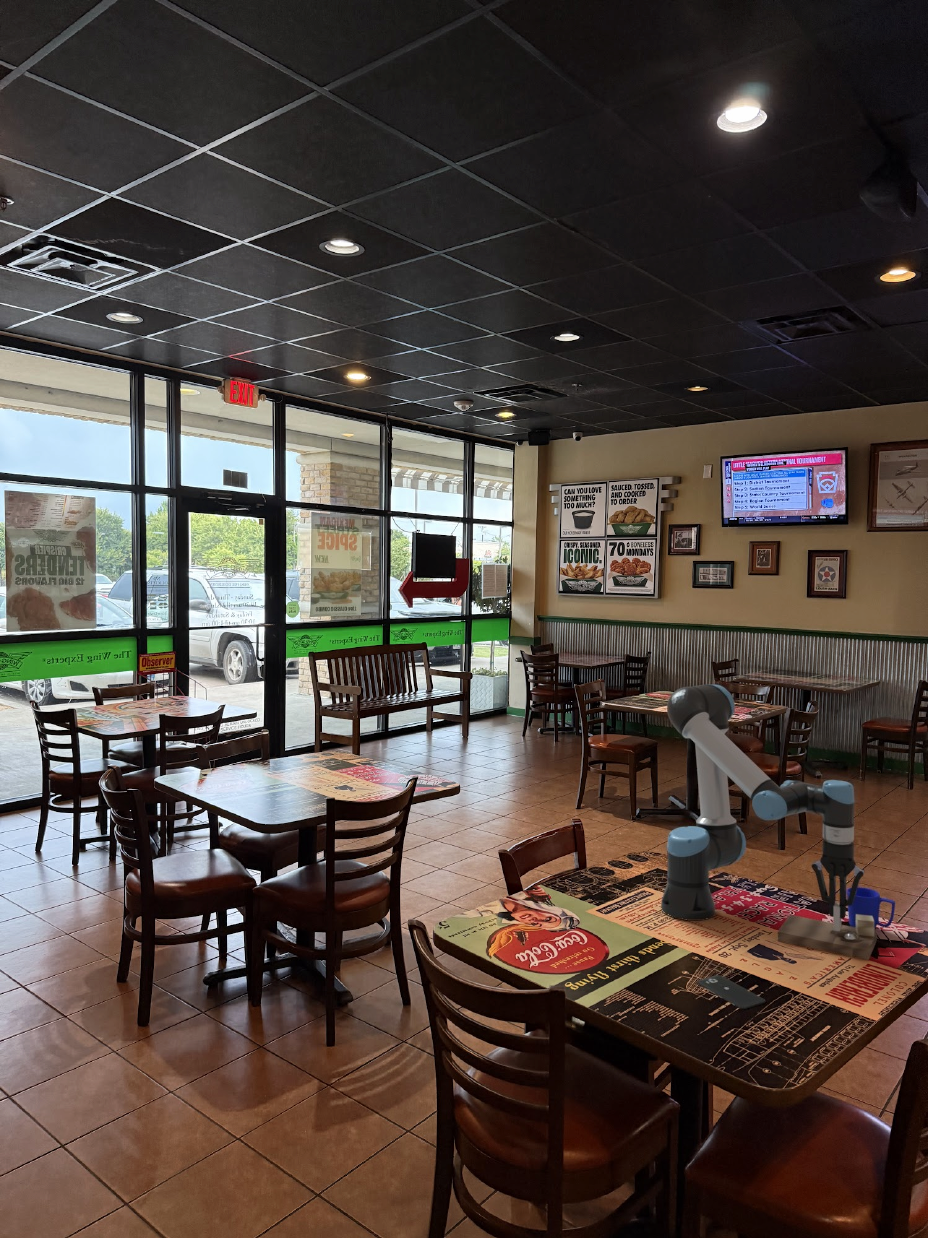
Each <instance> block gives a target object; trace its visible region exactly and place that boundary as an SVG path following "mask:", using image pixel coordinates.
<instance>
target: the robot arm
mask: <svg viewBox="0 0 928 1238" xmlns="http://www.w3.org/2000/svg"><path fill="white" fill-rule="evenodd" d="M666 704H667V706H666V712H667V716H668V718H669V721H670V723H671V724H672V725H673V727H674V728H675V730H676V731H677V732H678V733H679V734H680V735H681V736H682V737H683V738H684V739H690V740H691V741H693V743H694V745H695V757H696V758H695V759H696V768H697V769H696V771H697V784H698V796H699V806H700V807H699V808H700V816H699V817H698V818H697V819H695V822H696V823H695V824H696V826H695V825H694V826H693V825H690V826H689V825H688V826H680V827H677V828H674V829H673V830H671V831H670V832H669V834H668V836H667V843H666V850H667V851H666V852H667V860H666V861H667V863H666V866H667V868H666V869H667V873H666V874H667V883H666V886H665V889H664V892H663V895H662V898H661V903H660V906H661V907H660V908H662V909H661V911H662V910H663V911H664V912H665V913H666V914H665V913H664V912H663V911H662V912H663V913H664V914H665V915H667V914H669V915H671V916H673V917H672V918H675V917H676V918H675V919H678V918H683V919H682V920H684V919H687V920H686V921H704V920H707V919H706V918H708V919H710V917H711V918H712V917H714V916H715V915H716V904H715V901H714V898H713V895H712V891H711V888H710V885H709V884H710V879H709V878H710V871H712V870H716V869H718V868H722V867H728V866H731V865H733V864H734V863H736V862H738V861H739V860H741V858H743V856H744V855H745V851H746V847H747V841H746V840H747V839H746V837H745V833H744V832H743V831H742V829H741V828H740V827H739V826H738V825H737V819H736V818H734V817H733V816H732V815H731V807H730V805H731V804H730V794H729V791H730V790H729V783H728V782H729V781H728V779H731V781H732V782H734V784H735V785H737V786H738V788H739V789H740V790H741V791H742V792H743V793H744V794H746V796H747V797H749V799H751V800H752V803H751V804H752V809H753V811H754V813H755V815H756V816H757V818H759V819H761V820H764V821H774V820H775V821H776V820H781V819H782V818H786V817H789V816H793V815H794V816H795V815H796V814H797V815H798V814H801V813H804V812H805V813H811V814H815V815H821V816H822V838H823V840H822V853H821V854H822V856H821V858H820V860H818V861H814V862H812V864H811V868H812V870H813V872H814V874H815V876H816V880H817V881H816V882H817V885H818V890H819V894H820V897H821V900H822V901H823V902H826V903H828V905H829V907H828V912H829V913H828V915H829V917H832V921H833V922H832V923H833V930H834V931H840V930H841V925H842V920H843V919H845V917H846V914H847V913H846V912H847V910H846V909H847V907H848V906H851V905H852V904H853V902H854V898H855V895H856V891H857V888H858V887H859V884H860V881H861V879H862V878H863V876H864V875H865V873H866V871H865V870H864V869H862V868H860V867H859V866H857V863H856V861H855V859H854V856H855V851H854V850H855V845H854V843H853V841H854V840H855V825H854V823H855V822H854V817H855V802H856V801H855V787H854V785H853V784H852V783H851V782H848V781H846V780H845V781H844V780H838V779H837V780H836V779H829V780H827V779H826V780H825V781H824V782H823V784H822V785H818V784H817V785H816V784H812V783H807V782H804V781H801V780H790V779H787V780H785V781H783V783H782V784H781V785H780V786H779V785H778V784H776V782H775V781H773V779H771V778H770V777H769V776H768V775H767V774H766V773H765V772H764V771H763V770H762V769H761V768H760V767H759V766H758V765H757V764H756V763H755V762H754V761H753V760H752V759H750V757H749V756H748V755H746V753H744V752H743V751H742V750H741V749H740V748H739V747H738V746H737V745H736V744H735V743H734V742H733V741H732V740H731V739H730V738H729V737H728V736H727V735H726V732H728V731H729V727H730V726H729V721H730V719H731V718H732V716H733V715H734V713H735V709H736V705H735V701H734V697H733V696H732V694H731V692H730V691H728V689H726V688H725V687H724V686H722V685H719V684H711V683H710V684H709V683H708V684H701V685H693V686H683V687H680V688H678V689H676V690H674V692H673V693H671V695H670V697H669V699H668V700H667V703H666ZM823 868H824V869H825V871H826V872H827V874H828V879H829V880H828V881H829V882H828V890H827V885H826V881H825V877H824V874H823V870H822V869H823ZM852 871H854V872H853V875H854V878H853V882H852V885H851V887H850V888H851V891H850V894H849V898H848V899H847V878H848V876H849V874H850V873H851V872H852ZM837 877H838V879H839V902H836V901H837V900H836V898H837V897H836V895H837V894H836V893H837V892H836V888H837V887H836V885H837V884H836V883H837ZM714 914H715V915H714ZM669 915H668V916H669ZM671 916H670V917H671ZM703 919H704V920H703Z"/></svg>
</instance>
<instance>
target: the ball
mask: <svg viewBox="0 0 928 1238" xmlns="http://www.w3.org/2000/svg"><path fill="white" fill-rule="evenodd" d="M844 939H857V938H856V937H855V936H854V935H853V934H851V933H848V934H846V935H845V936H844Z"/></svg>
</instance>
